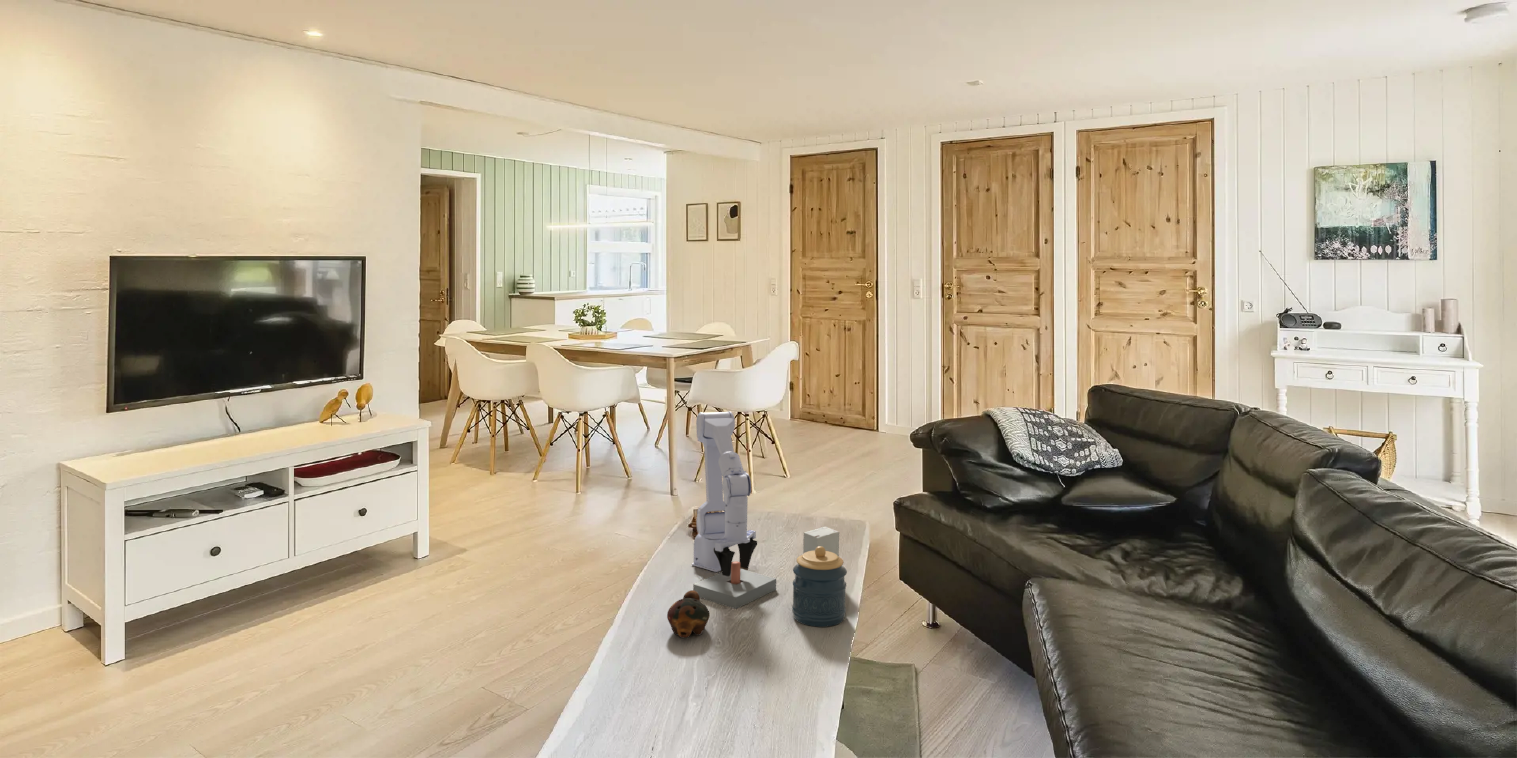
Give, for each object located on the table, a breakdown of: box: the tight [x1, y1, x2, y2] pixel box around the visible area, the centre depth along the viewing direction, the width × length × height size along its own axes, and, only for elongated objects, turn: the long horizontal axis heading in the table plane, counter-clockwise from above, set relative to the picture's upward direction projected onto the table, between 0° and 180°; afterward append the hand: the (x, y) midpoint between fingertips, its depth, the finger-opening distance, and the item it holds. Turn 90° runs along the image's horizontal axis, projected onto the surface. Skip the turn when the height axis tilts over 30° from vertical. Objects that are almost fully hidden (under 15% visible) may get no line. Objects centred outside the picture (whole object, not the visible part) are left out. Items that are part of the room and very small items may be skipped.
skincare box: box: [802, 526, 840, 557], centre depth 226 cm, size 8×6×15 cm
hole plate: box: [692, 568, 777, 610], centre depth 220 cm, size 14×17×3 cm
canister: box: [791, 546, 848, 628], centre depth 204 cm, size 13×13×18 cm
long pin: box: [731, 561, 740, 585], centre depth 220 cm, size 2×2×8 cm
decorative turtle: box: [666, 590, 710, 639], centre depth 195 cm, size 10×15×8 cm, turn 2°
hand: (735, 571), depth 219 cm, fingers open, 7 cm apart
